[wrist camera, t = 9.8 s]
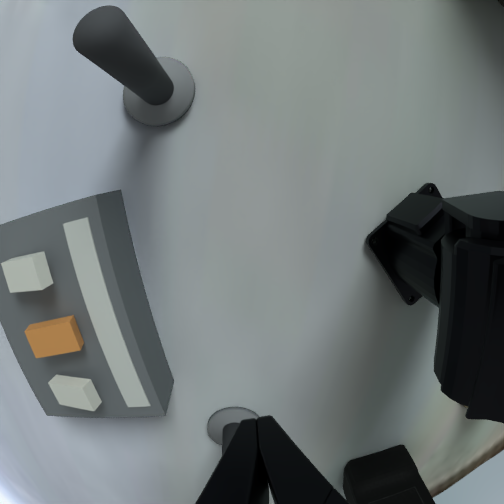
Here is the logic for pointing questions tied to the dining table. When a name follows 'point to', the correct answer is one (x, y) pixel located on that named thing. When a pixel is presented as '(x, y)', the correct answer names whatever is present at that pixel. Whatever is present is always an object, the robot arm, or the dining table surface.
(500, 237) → the robot arm
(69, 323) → the block
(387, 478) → the portable radio
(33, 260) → the pale grey rectangular block
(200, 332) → the dining table surface
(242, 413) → the cable post
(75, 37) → the post
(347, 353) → the dining table surface
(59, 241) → the board
